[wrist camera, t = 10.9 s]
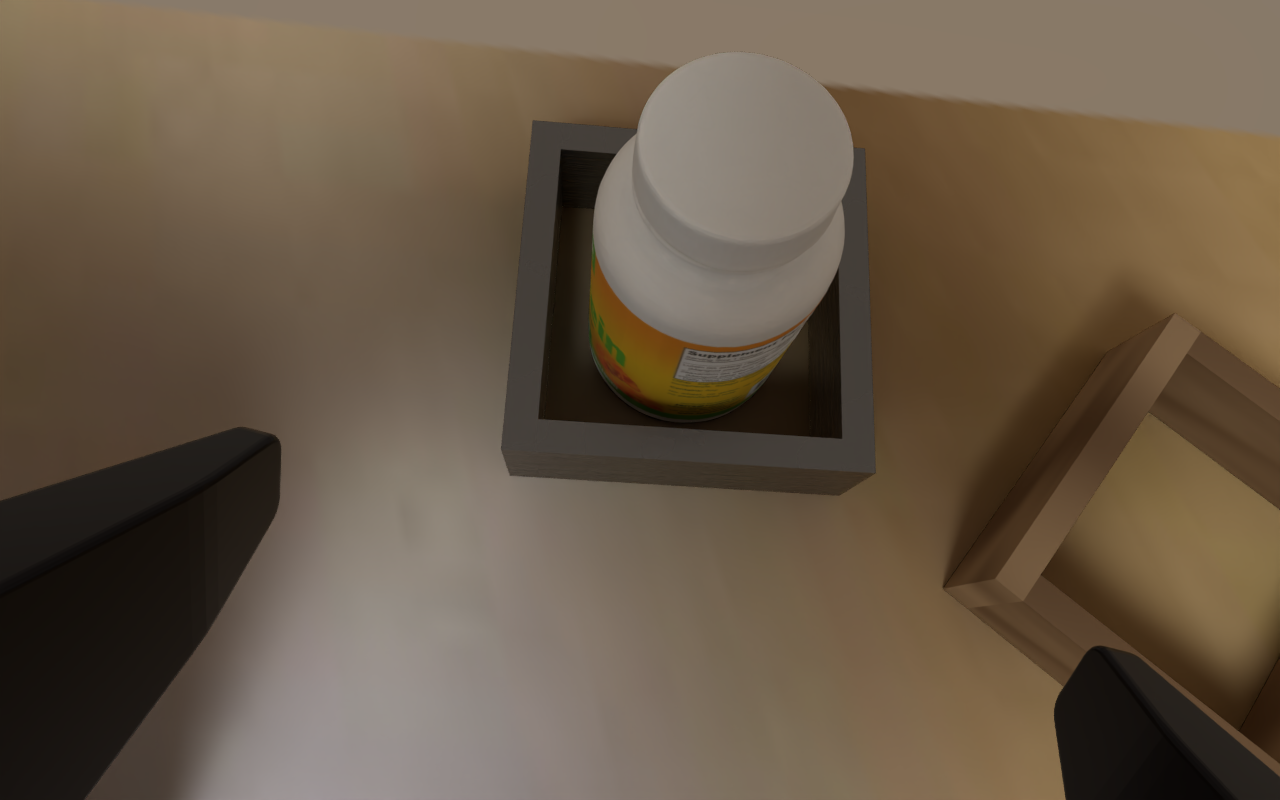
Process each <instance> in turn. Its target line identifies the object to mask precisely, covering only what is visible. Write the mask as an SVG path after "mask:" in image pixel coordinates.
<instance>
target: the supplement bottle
mask: <svg viewBox="0 0 1280 800" xmlns="http://www.w3.org/2000/svg"><path fill="white" fill-rule="evenodd" d="M853 159H854V155H853V142H852V136H851V132H850V129H849V126H848V123H847V120H846V118H845V116H844V114H843V112H842V110H841V108H840V107H839V105H838V103H837V102H836V101H835V99H834V98H833V97H832V96H831V94H830V93H829V92H828V91H827V90H826V89H825V87H823V86H822V85H821V84H820V83H819V82H818V81H816V80H815V79H814V78H813V77H812V76H810V75H809V74H807V73H806V72H804V71H803V70H801V69H799V68H798V67H796V66H794V65H792V64H790V63H787V62H785V61H783V60H781V59H778V58H774V57H770V56H767V55H763V54H758V53H750V52H723V53H716V54H712V55H709V56H704V57H701V58H698V59H695V60H693V61H691V62H689V63H687V64H685V65H683V66H681V67H679V68H678V69H676V70H675V71H674V72H672V73H671V74H670V75H668V76H667V77H666V78H665V79H664V80H663V81H662V82H661V83H660V84H659V85H658V86H657V88H656V89H655V90H654V92H653V93H652V94H651V96H650V97H649V99H648V101H647V103H646V104H645V106H644V109H643V111H642V114H641V117H640V120H639V123H638V129H637V134H635V135H634V136H633V137H632V138H631V139H630V140H629V141H628V142H627V143H626V144H625V145H624V146H623V147H622V148H621V149H620V150H619V152H618V153H617V154H616V156H615V157H614V159H613V160H612V162H611V163H610V165H609V167H608V169H607V171H606V173H605V175H604V177H603V179H602V181H601V183H600V186H599V189H598V194H597V198H596V203H595V210H594V219H593V237H592V259H591V284H590V299H589V315H588V331H589V343H590V348H591V352H592V356H593V359H594V362H595V365H596V367H597V369H598V371H599V372H600V374H601V376H602V378H603V379H604V381H605V382H606V383H607V385H608V386H609V387H610V388H611V390H612V391H613V392H614V393H615V394H616V395H617V396H618V397H619V398H620V399H622V400H623V401H624V402H625V403H627V404H628V405H629V406H631V407H632V408H634V409H636V410H638V411H639V412H641V413H643V414H646V415H648V416H651V417H654V418H657V419H660V420H665V421H670V422H680V423H691V422H702V421H707V420H711V419H715V418H718V417H721V416H723V415H725V414H728V413H729V412H731V411H733V410H735V409H736V408H738V407H739V406H741V405H742V404H744V403H745V402H746V401H747V400H749V399H750V398H751V397H752V396H753V395H754V394H755V393H756V392H757V390H758V389H759V388H760V387H761V386H762V385H763V384H764V382H765V381H766V380H767V378H768V377H769V375H770V374H771V372H772V371H773V369H774V368H775V367H776V365H777V364H778V362H779V361H780V359H781V358H782V356H783V355H784V353H785V352H786V351H787V349H788V348H789V346H790V345H791V344H792V342H793V341H794V339H795V338H796V336H797V335H798V333H799V332H800V330H801V329H802V327H803V325H804V324H805V323H806V321H807V320H808V318H809V317H810V316H811V314H812V313H813V311H814V310H815V308H816V307H817V306H818V304H819V303H820V302H821V300H822V298H823V297H824V295H825V294H826V292H827V290H828V288H829V286H830V284H831V282H832V280H833V278H834V276H835V274H836V272H837V269H838V266H839V263H840V260H841V256H842V252H843V247H844V238H845V225H844V213H843V206H842V202H841V201H842V199H843V197H844V195H845V193H846V190H847V188H848V185H849V183H850V179H851V175H852V170H853Z"/></svg>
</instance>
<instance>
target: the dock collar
mask: <svg viewBox="0 0 1280 800" xmlns="http://www.w3.org/2000/svg"><path fill="white" fill-rule="evenodd" d="M635 134H637V129H628V128H616V127H604V126H593V125H581V124H569V123H557V122H546V121H534V120H533V124H532V135H531V145H530V155H529V166H528V176H527V187H526V197H525V207H524V218H523V228H522V238H521V249H520V259H519V269H518V280H517V290H516V301H515V311H514V321H513V332H512V342H511V352H510V363H509V373H508V384H507V394H506V404H505V415H504V425H503V435H502V446H501V451H502V454H503V456H504V459H505V462H506V465H507V468H508V471H509V474H510V475H511V476H528V477H544V478H560V479H577V480H593V481H609V482H626V483H642V484H658V485H675V486H691V487H707V488H724V489H740V490H756V491H773V492H789V493H806V494H822V495H838V496H839V495H841V494H842V493H844V492H846V491H847V490H849V489H851V488H852V487H854V486H855V485H857V484H859V483H860V482H862V481H864V480H865V479H867V478H869V477H870V476H872V475H873V474H875V473H876V469H875V439H874V408H873V378H872V348H871V318H870V287H869V257H868V227H867V197H866V166H865V149H863V148H853V155H854V159H853V170H852V175H851V179H850V183H849V185H848V188H847V190H846V193H845V195H844V197H843V199H842V201H841V202H842V206H843V213H844V225H845V238H844V247H843V252H842V256H841V260H840V263H839V266H838V269H837V272H836V274H835V276H834V278H833V280H832V282H831V284H830V286H829V288H828V290H827V292H826V294H825V295H824V297H823V298H822V300H821V302H820V303H819V304H818V306H817V307H816V308H815V310H814V311H813V313H812V314H811V316H810V317H809V318H808V320H809V415H810V437H805V436H790V435H774V434H759V433H744V432H728V431H713V430H697V429H682V428H667V427H651V426H636V425H621V424H605V423H590V422H574V421H559V420H545V408H546V396H547V384H548V372H549V360H550V347H551V335H552V323H553V311H554V299H555V287H556V274H557V262H558V250H559V238H560V226H561V214H562V206H566V207H579V208H591V209H595V203H596V198H597V194H598V189H599V186H600V183H601V181H602V179H603V177H604V175H605V173H606V171H607V169H608V167H609V165H610V163H611V162H612V160H613V159H614V157H615V156H616V154H617V153H618V152H619V150H620V149H621V148H622V147H623V146H624V145H625V144H626V143H627V142H628V141H629V140H630V139H631V138H632V137H633V136H634V135H635Z"/></svg>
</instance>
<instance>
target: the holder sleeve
mask: <svg viewBox="0 0 1280 800" xmlns="http://www.w3.org/2000/svg"><path fill="white" fill-rule="evenodd" d="M1148 411H1149V412H1150V413H1151V414H1153V415H1154V416H1155V417H1157V418H1158V419H1159V420H1161V421H1162V422H1163V423H1165V424H1166V425H1168V426H1169V427H1170V428H1172V429H1173V430H1174V431H1176V432H1177V433H1178V434H1180V435H1181V436H1182V437H1184V438H1185V439H1186V440H1188V441H1189V442H1190V443H1192V444H1193V445H1194V446H1196V447H1197V448H1198V449H1200V450H1201V451H1202V452H1204V453H1205V454H1206V455H1208V456H1209V457H1210V458H1212V459H1213V460H1214V461H1216V462H1217V463H1218V464H1220V465H1221V466H1222V467H1224V468H1225V469H1226V470H1228V471H1229V472H1230V473H1232V474H1233V475H1234V476H1236V477H1237V478H1238V479H1240V480H1241V481H1242V482H1244V483H1245V484H1246V485H1248V486H1249V487H1250V488H1252V489H1253V490H1254V491H1256V492H1257V493H1259V494H1260V495H1261V496H1263V497H1264V498H1265V499H1267V500H1268V501H1269V502H1271V503H1272V504H1273V505H1275V506H1276V507H1277V508H1279V509H1280V389H1279V388H1278V387H1277V386H1275V385H1274V384H1273V383H1271V382H1270V381H1268V380H1267V379H1266V378H1264V377H1263V376H1262V375H1260V374H1259V373H1257V372H1256V371H1255V370H1253V369H1252V368H1251V367H1249V366H1248V365H1246V364H1245V363H1244V362H1242V361H1241V360H1240V359H1238V358H1237V357H1235V356H1234V355H1233V354H1231V353H1230V352H1229V351H1227V350H1226V349H1224V348H1223V347H1222V346H1220V345H1219V344H1218V343H1216V342H1215V341H1213V340H1212V339H1211V338H1209V337H1208V336H1207V335H1205V334H1204V333H1202V332H1201V331H1200V330H1198V329H1197V328H1196V327H1194V326H1193V325H1191V324H1190V323H1189V322H1187V321H1186V320H1184V319H1183V318H1182V317H1180V316H1179V315H1178V314H1176V313H1174V314H1172V315H1171V316H1169V317H1167V318H1165V319H1164V320H1162V321H1160V322H1158V323H1157V324H1155V325H1153V326H1151V327H1150V328H1148V329H1146V330H1144V331H1143V332H1141V333H1139V334H1137V335H1136V336H1134V337H1132V338H1131V339H1129V340H1127V341H1125V342H1124V343H1122V344H1120V345H1118V346H1117V347H1115V348H1113V349H1111V350H1110V351H1108V352H1107V353H1106V355H1105V356H1104V358H1103V359H1102V361H1101V362H1100V363H1099V365H1098V366H1097V368H1096V369H1095V371H1094V372H1093V373H1092V375H1091V376H1090V378H1089V379H1088V381H1087V382H1086V384H1085V385H1084V386H1083V388H1082V389H1081V391H1080V392H1079V394H1078V395H1077V397H1076V398H1075V399H1074V401H1073V402H1072V404H1071V405H1070V407H1069V408H1068V409H1067V411H1066V412H1065V414H1064V415H1063V417H1062V418H1061V420H1060V421H1059V422H1058V424H1057V425H1056V427H1055V428H1054V430H1053V431H1052V432H1051V434H1050V435H1049V437H1048V438H1047V440H1046V441H1045V443H1044V444H1043V445H1042V447H1041V448H1040V450H1039V451H1038V453H1037V454H1036V455H1035V457H1034V458H1033V460H1032V461H1031V463H1030V464H1029V466H1028V467H1027V468H1026V470H1025V471H1024V473H1023V474H1022V476H1021V477H1020V479H1019V480H1018V481H1017V483H1016V484H1015V486H1014V487H1013V489H1012V490H1011V491H1010V493H1009V494H1008V496H1007V497H1006V499H1005V500H1004V502H1003V503H1002V504H1001V506H1000V507H999V509H998V510H997V512H996V513H995V514H994V516H993V517H992V519H991V520H990V522H989V523H988V525H987V526H986V527H985V529H984V530H983V532H982V533H981V535H980V536H979V538H978V539H977V540H976V542H975V543H974V545H973V546H972V548H971V549H970V550H969V552H968V553H967V555H966V556H965V558H964V559H963V561H962V562H961V563H960V565H959V566H958V568H957V569H956V571H955V572H954V573H953V575H952V576H951V578H950V579H949V581H948V582H947V584H946V585H945V586H944V588H943V589H944V590H945V591H946V592H948V593H949V594H950V595H951V596H953V597H954V598H955V599H956V600H957V601H959V602H960V603H961V604H962V605H964V606H965V607H966V608H967V609H969V610H970V611H971V612H972V613H974V614H975V615H976V616H977V617H979V618H980V619H981V620H982V621H983V622H985V623H986V624H987V625H988V626H990V627H991V628H992V629H993V630H995V631H996V632H997V633H998V634H1000V635H1001V636H1002V637H1003V638H1005V639H1006V640H1007V641H1008V642H1009V643H1011V644H1012V645H1013V646H1014V647H1016V648H1017V649H1018V650H1019V651H1021V652H1022V653H1023V654H1024V655H1026V656H1027V657H1028V658H1029V659H1031V660H1032V661H1033V662H1034V663H1035V664H1037V665H1038V666H1039V667H1040V668H1042V669H1043V670H1044V671H1045V672H1047V673H1048V674H1049V675H1050V676H1052V677H1053V678H1054V679H1055V680H1056V681H1058V682H1059V683H1060V684H1061V685H1063V686H1065V684H1066V683H1067V681H1068V679H1069V678H1070V676H1071V675H1072V673H1073V672H1074V670H1075V668H1076V667H1077V665H1078V664H1079V662H1080V661H1081V659H1082V658H1083V656H1084V655H1085V653H1086V652H1087V651H1088V650H1089V649H1090V648H1092V647H1094V646H1098V645H1102V646H1106V647H1110V648H1114V649H1118V650H1122V651H1126V652H1130V653H1133V654H1135V655H1137V656H1138V657H1140V658H1141V659H1142V660H1143V661H1144V662H1146V663H1147V664H1148V665H1149V666H1150V667H1151V668H1153V669H1154V670H1155V671H1156V672H1157V673H1158V674H1160V675H1161V676H1162V677H1163V678H1164V679H1166V680H1167V681H1168V682H1169V683H1170V684H1171V685H1173V686H1174V687H1175V688H1176V689H1177V690H1179V691H1180V692H1181V693H1182V694H1183V695H1184V696H1186V697H1187V698H1188V699H1189V700H1190V701H1191V702H1193V703H1194V704H1195V705H1196V706H1197V707H1199V708H1200V709H1201V710H1202V711H1203V712H1204V713H1206V714H1207V715H1208V716H1209V717H1210V718H1211V719H1213V720H1214V721H1215V722H1216V723H1217V724H1219V725H1220V726H1221V727H1222V728H1223V729H1224V730H1226V731H1227V732H1228V733H1229V734H1230V735H1232V736H1233V737H1234V738H1235V739H1236V740H1237V741H1239V742H1240V743H1241V744H1242V745H1243V746H1244V747H1246V748H1247V749H1248V750H1249V751H1250V752H1252V753H1253V754H1254V755H1255V756H1256V757H1257V758H1259V759H1260V760H1261V761H1262V762H1263V763H1264V764H1266V765H1267V766H1268V767H1269V768H1270V769H1272V770H1273V771H1274V772H1275V773H1276V774H1277V775H1279V776H1280V658H1279V660H1278V662H1277V663H1276V665H1275V667H1274V669H1273V671H1272V672H1271V674H1270V676H1269V678H1268V680H1267V682H1266V683H1265V685H1264V687H1263V689H1262V691H1261V693H1260V694H1259V696H1258V698H1257V700H1256V702H1255V704H1254V705H1253V707H1252V709H1251V711H1250V713H1249V715H1248V716H1247V718H1246V720H1245V722H1244V724H1243V726H1242V727H1241V729H1240V731H1238V730H1236V729H1235V728H1234V727H1233V726H1231V725H1230V724H1229V723H1227V722H1226V721H1225V720H1224V719H1222V718H1221V717H1220V716H1219V715H1217V714H1216V713H1215V712H1214V711H1212V710H1211V709H1210V708H1209V707H1207V706H1206V705H1205V704H1203V703H1202V702H1201V701H1200V700H1198V699H1197V698H1196V697H1195V696H1193V695H1192V694H1191V693H1190V692H1188V691H1187V690H1186V689H1185V688H1183V687H1182V686H1181V685H1179V684H1178V683H1177V682H1176V681H1174V680H1173V679H1172V678H1171V677H1169V676H1168V675H1167V674H1166V673H1164V672H1163V671H1162V670H1161V669H1159V668H1158V667H1157V666H1155V665H1154V664H1153V663H1152V662H1150V661H1149V660H1148V659H1147V658H1145V657H1144V656H1143V655H1142V654H1140V653H1139V652H1138V651H1136V650H1135V649H1134V648H1133V647H1131V646H1130V645H1129V644H1128V643H1126V642H1125V641H1124V640H1123V639H1121V638H1120V637H1119V636H1118V635H1116V634H1115V633H1114V632H1112V631H1111V630H1110V629H1109V628H1107V627H1106V626H1105V625H1104V624H1102V623H1101V622H1100V621H1099V620H1097V619H1096V618H1095V617H1094V616H1092V615H1091V614H1090V613H1088V612H1087V611H1086V610H1085V609H1083V608H1082V607H1081V606H1080V605H1078V604H1077V603H1076V602H1075V601H1073V600H1072V599H1071V598H1070V597H1068V596H1067V595H1066V594H1064V593H1063V592H1062V591H1061V590H1059V589H1058V588H1057V587H1056V586H1054V585H1053V584H1052V583H1051V582H1049V581H1048V580H1047V579H1046V578H1044V577H1043V576H1042V575H1041V574H1042V572H1043V570H1044V569H1045V567H1046V566H1047V564H1048V563H1049V561H1050V560H1051V558H1052V557H1053V555H1054V554H1055V552H1056V551H1057V549H1058V548H1059V546H1060V545H1061V543H1062V542H1063V540H1064V539H1065V537H1066V536H1067V534H1068V533H1069V531H1070V530H1071V528H1072V527H1073V525H1074V524H1075V522H1076V520H1077V519H1078V517H1079V516H1080V514H1081V513H1082V511H1083V510H1084V508H1085V507H1086V505H1087V504H1088V502H1089V501H1090V499H1091V498H1092V496H1093V495H1094V493H1095V492H1096V490H1097V489H1098V487H1099V486H1100V484H1101V483H1102V481H1103V480H1104V478H1105V477H1106V475H1107V473H1108V472H1109V470H1110V469H1111V467H1112V466H1113V464H1114V463H1115V461H1116V460H1117V458H1118V457H1119V455H1120V454H1121V452H1122V451H1123V449H1124V448H1125V446H1126V445H1127V443H1128V442H1129V440H1130V439H1131V437H1132V436H1133V434H1134V433H1135V431H1136V430H1137V428H1138V427H1139V425H1140V423H1141V422H1142V420H1143V419H1144V417H1145V416H1146V414H1147V413H1148Z"/></svg>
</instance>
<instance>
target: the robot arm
mask: <svg viewBox="0 0 1280 800" xmlns="http://www.w3.org/2000/svg"><path fill="white" fill-rule="evenodd" d="M280 474H281V445H280V441H279V439H278V438H277V437H276V436H275V435H273V434H269V433H266V432H262V431H258V430H254V429H250V428H246V427H237V428H234V429H230V430H227V431H224V432H221V433H217V434H214V435H211V436H208V437H205V438H201V439H198V440H195V441H192V442H189V443H185V444H182V445H179V446H176V447H172V448H169V449H166V450H163V451H160V452H156V453H153V454H150V455H147V456H144V457H140V458H137V459H134V460H131V461H127V462H124V463H121V464H118V465H115V466H111V467H108V468H105V469H102V470H98V471H95V472H92V473H89V474H86V475H82V476H79V477H76V478H73V479H69V480H66V481H63V482H60V483H57V484H53V485H50V486H47V487H44V488H40V489H37V490H34V491H31V492H28V493H24V494H21V495H18V496H15V497H11V498H8V499H5V500H2V501H0V800H85V798H86V797H87V796H88V794H89V793H90V792H91V790H92V789H93V788H94V786H95V785H96V784H97V782H98V781H99V780H100V778H101V777H102V775H103V774H104V773H105V771H106V770H107V769H108V767H109V766H110V765H111V763H112V762H113V761H114V759H115V758H116V757H117V755H118V754H119V753H120V751H121V750H122V748H123V747H124V746H125V744H126V743H127V742H128V740H129V739H130V738H131V736H132V735H133V734H134V732H135V731H136V730H137V728H138V727H139V726H140V724H141V723H142V721H143V720H144V719H145V717H146V716H147V715H148V713H149V712H150V711H151V709H152V708H153V707H154V705H155V704H156V703H157V701H158V700H159V698H160V697H161V696H162V694H163V693H164V692H165V690H166V689H167V688H168V686H169V685H170V684H171V682H172V681H173V680H174V678H175V677H176V676H177V674H178V673H179V671H180V670H181V669H182V667H183V666H184V665H185V663H186V662H187V661H188V659H189V658H190V657H191V655H192V654H193V653H194V651H195V650H196V648H197V647H198V645H199V644H200V643H201V641H202V640H203V638H204V637H205V635H206V634H207V632H208V631H209V629H210V628H211V626H212V624H213V623H214V621H215V619H216V618H217V616H218V614H219V613H220V611H221V609H222V608H223V606H224V604H225V602H226V601H227V599H228V597H229V595H230V594H231V592H232V590H233V588H234V587H235V585H236V583H237V582H238V580H239V578H240V576H241V575H242V573H243V571H244V569H245V568H246V566H247V564H248V562H249V561H250V559H251V557H252V556H253V554H254V552H255V550H256V549H257V547H258V545H259V543H260V542H261V540H262V538H263V536H264V535H265V533H266V531H267V530H268V528H269V526H270V524H271V523H272V521H273V519H274V517H275V514H276V512H277V509H278V505H279V500H280ZM1054 722H1055V729H1056V736H1057V743H1058V750H1059V757H1060V763H1061V770H1062V777H1063V784H1064V791H1065V798H1066V800H1280V776H1279V775H1277V774H1276V773H1275V772H1274V771H1273V770H1272V769H1270V768H1269V767H1268V766H1267V765H1266V764H1264V763H1263V762H1262V761H1261V760H1260V759H1259V758H1257V757H1256V756H1255V755H1254V754H1253V753H1252V752H1250V751H1249V750H1248V749H1247V748H1246V747H1244V746H1243V745H1242V744H1241V743H1240V742H1239V741H1237V740H1236V739H1235V738H1234V737H1233V736H1232V735H1230V734H1229V733H1228V732H1227V731H1226V730H1224V729H1223V728H1222V727H1221V726H1220V725H1219V724H1217V723H1216V722H1215V721H1214V720H1213V719H1211V718H1210V717H1209V716H1208V715H1207V714H1206V713H1204V712H1203V711H1202V710H1201V709H1200V708H1199V707H1197V706H1196V705H1195V704H1194V703H1193V702H1191V701H1190V700H1189V699H1188V698H1187V697H1186V696H1184V695H1183V694H1182V693H1181V692H1180V691H1179V690H1177V689H1176V688H1175V687H1174V686H1173V685H1171V684H1170V683H1169V682H1168V681H1167V680H1166V679H1164V678H1163V677H1162V676H1161V675H1160V674H1158V673H1157V672H1156V671H1155V670H1154V669H1153V668H1151V667H1150V666H1149V665H1148V664H1147V663H1146V662H1144V661H1143V660H1142V659H1141V658H1140V657H1138V656H1137V655H1135V654H1133V653H1130V652H1126V651H1122V650H1118V649H1114V648H1110V647H1106V646H1102V645H1098V646H1094V647H1092V648H1090V649H1089V650H1088V651H1087V652H1086V653H1085V655H1084V656H1083V658H1082V659H1081V661H1080V662H1079V664H1078V665H1077V667H1076V668H1075V670H1074V672H1073V673H1072V675H1071V676H1070V678H1069V679H1068V681H1067V683H1066V684H1065V686H1064V687H1063V689H1062V690H1061V692H1060V693H1059V695H1058V698H1057V700H1056V703H1055V708H1054Z"/></svg>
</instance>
